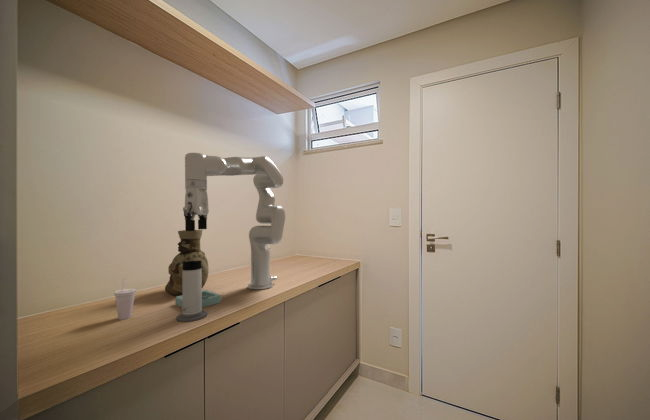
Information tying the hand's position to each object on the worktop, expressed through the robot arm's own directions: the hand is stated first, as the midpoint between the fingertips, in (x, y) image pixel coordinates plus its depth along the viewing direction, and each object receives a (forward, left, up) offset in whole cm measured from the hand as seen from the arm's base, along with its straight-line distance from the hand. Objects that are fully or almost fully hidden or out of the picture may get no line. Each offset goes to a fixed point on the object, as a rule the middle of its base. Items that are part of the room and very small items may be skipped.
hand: (196, 230), depth 99 cm
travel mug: (+3, +4, -31) cm, 31 cm away
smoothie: (+19, -15, -32) cm, 39 cm away
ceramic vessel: (-10, -33, -32) cm, 47 cm away
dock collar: (-5, -10, -31) cm, 33 cm away
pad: (+3, +3, -31) cm, 32 cm away
